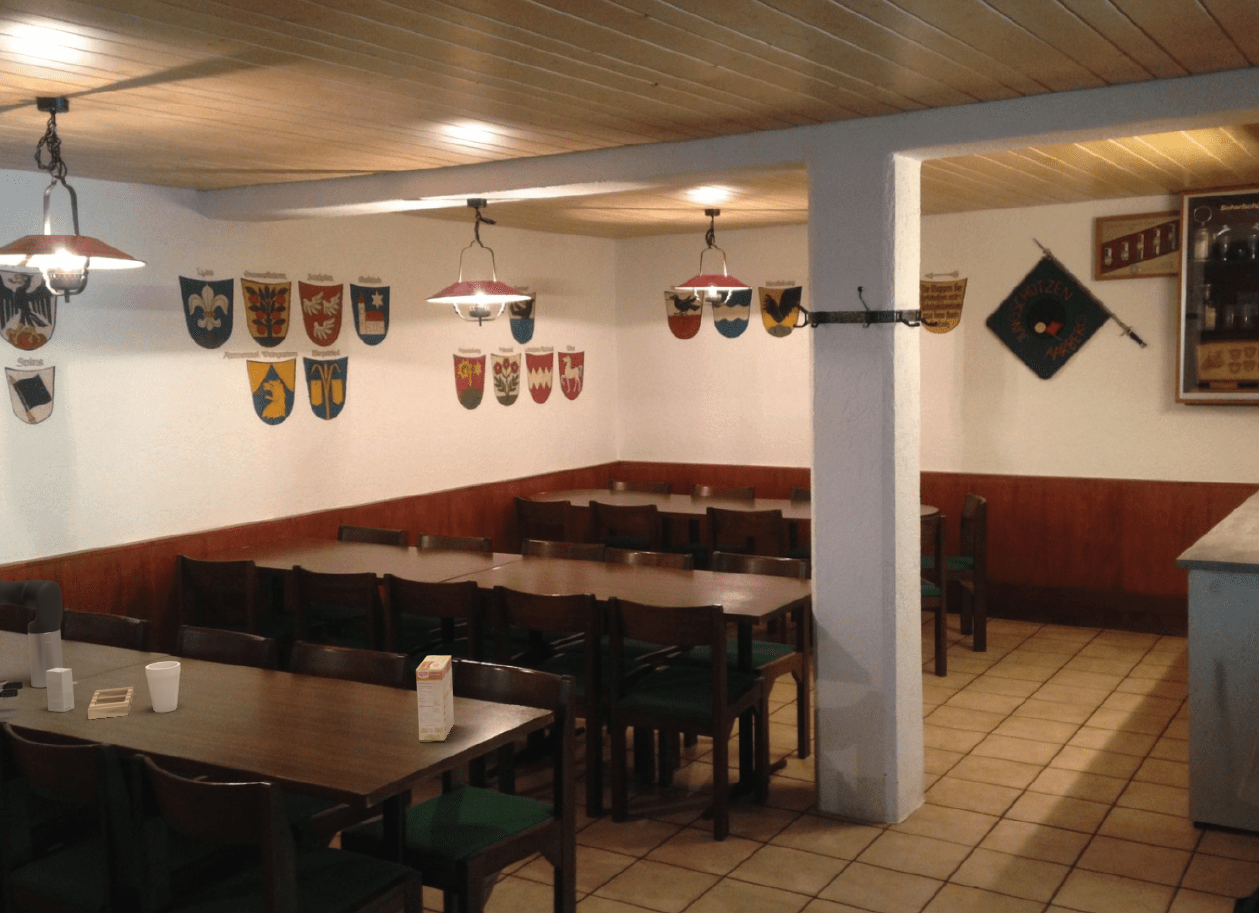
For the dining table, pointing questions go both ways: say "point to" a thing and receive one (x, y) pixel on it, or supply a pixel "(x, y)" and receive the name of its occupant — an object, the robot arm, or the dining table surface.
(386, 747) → the dining table surface
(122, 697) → the wooden crate
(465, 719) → the dining table surface
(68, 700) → the skincare box
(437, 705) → the coffeecake box
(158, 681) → the foam cup
